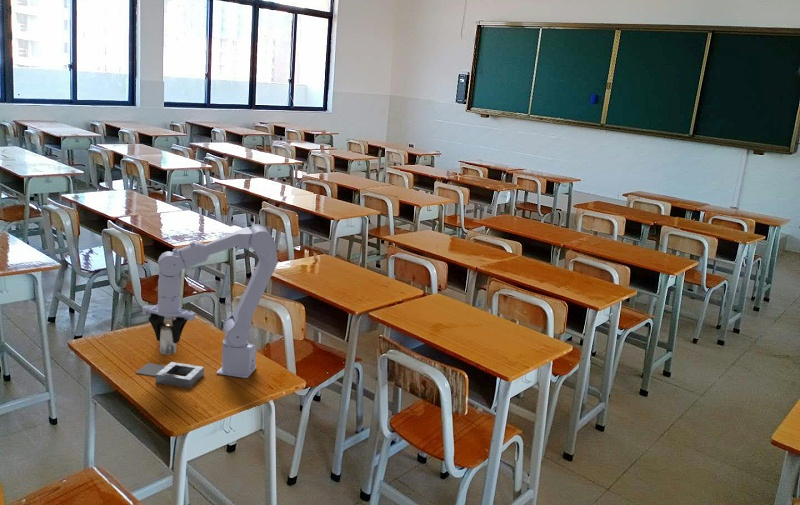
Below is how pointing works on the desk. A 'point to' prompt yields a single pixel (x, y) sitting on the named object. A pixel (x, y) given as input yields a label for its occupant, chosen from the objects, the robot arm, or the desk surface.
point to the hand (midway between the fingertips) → (168, 340)
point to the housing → (183, 381)
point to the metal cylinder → (167, 339)
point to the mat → (150, 369)
